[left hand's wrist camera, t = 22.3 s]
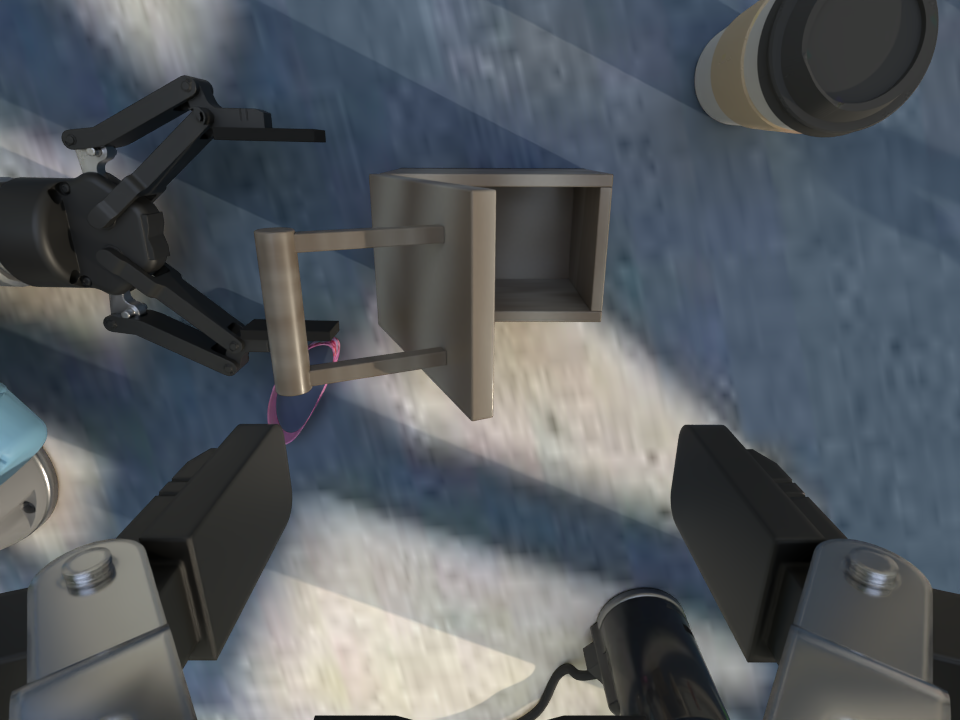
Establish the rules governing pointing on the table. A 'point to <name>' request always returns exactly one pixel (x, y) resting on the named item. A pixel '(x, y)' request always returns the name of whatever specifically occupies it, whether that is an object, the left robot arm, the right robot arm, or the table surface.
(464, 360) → the lid
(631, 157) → the table surface
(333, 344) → the headband
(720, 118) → the coffee cup
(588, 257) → the chest
